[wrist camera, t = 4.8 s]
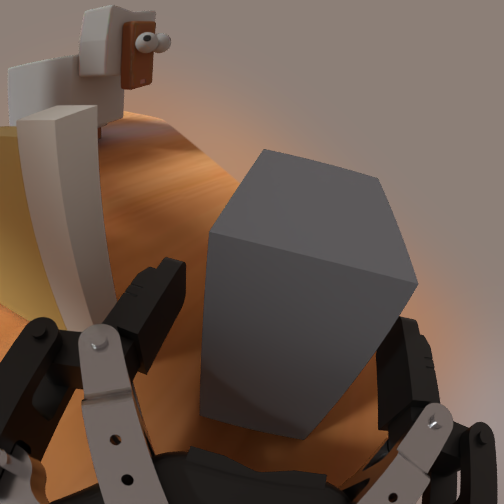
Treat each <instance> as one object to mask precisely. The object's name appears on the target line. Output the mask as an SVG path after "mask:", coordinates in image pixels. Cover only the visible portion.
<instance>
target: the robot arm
mask: <svg viewBox="0 0 504 504" xmlns="http://www.w3.org/2000/svg"><path fill="white" fill-rule="evenodd" d="M185 294H186V263H185V262H182V261H179V260H175V259H171V258H168V257H165V258H164V259H163V260H162V262H161V263H160V265H159V266H158V267H157V269H155V268H152V267H148V268H147V269H145V270H144V271H142V272H140V273H139V274H138V275H137V276H136V277H135V279H134V280H133V281H132V283H131V285H129V287H128V288H127V289H126V291H125V293H123V295H122V296H121V297H120V299H119V300H118V302H117V303H116V304H115V306H114V307H113V308H112V310H111V311H110V313H109V314H108V315H107V317H106V318H105V320H104V321H103V322H102V323H101V324H95V325H92V326H90V327H88V328H86V329H85V330H84V331H83V332H76V331H67V330H59V329H58V327H57V324H56V323H55V321H53V320H52V319H50V318H47V317H39V318H36V319H33V320H32V321H30V322H29V323H28V324H27V325H26V326H25V328H24V329H23V331H22V332H21V333H20V335H19V336H18V338H17V339H16V340H15V342H14V343H13V345H12V346H11V348H10V349H9V351H8V352H7V354H6V355H5V357H4V358H3V360H2V361H1V363H0V504H415V503H416V502H417V500H418V499H419V498H420V496H421V495H422V493H423V495H422V504H497V464H496V450H495V439H494V434H493V432H492V430H491V428H490V427H489V426H488V425H487V424H485V423H483V422H477V423H475V424H474V425H472V426H471V427H470V428H468V427H466V426H463V425H461V424H458V423H456V422H454V421H453V418H452V415H451V413H450V411H449V410H448V409H447V408H446V407H445V406H443V405H441V404H440V398H439V391H438V385H437V380H436V374H435V370H434V363H433V360H432V353H431V348H430V345H429V344H428V342H427V340H426V338H425V337H424V335H420V333H419V328H418V324H417V321H416V320H414V319H409V318H404V317H400V316H399V317H398V318H397V320H396V322H395V323H394V325H393V326H392V328H391V329H390V331H389V332H388V334H387V335H386V337H385V338H384V340H383V341H382V343H381V344H380V346H379V347H378V349H377V351H376V364H377V387H378V430H384V431H388V437H387V438H386V439H385V440H384V441H383V442H382V444H381V445H380V446H379V447H378V449H377V450H376V451H375V452H374V453H373V455H372V456H371V457H370V458H369V459H368V460H367V461H366V463H365V464H364V465H363V466H362V467H361V468H360V469H359V470H358V471H357V472H356V473H355V474H354V475H353V476H352V477H351V478H349V479H348V480H347V481H346V482H344V483H343V484H342V485H341V486H340V487H339V488H337V487H336V486H334V485H332V484H330V483H328V482H326V476H327V475H325V474H317V473H309V472H302V471H295V470H294V471H279V472H257V471H254V470H252V469H250V468H248V467H246V466H244V465H242V464H240V463H238V462H236V461H234V460H232V459H230V458H228V457H226V456H224V455H220V454H216V453H213V452H209V451H206V450H203V449H199V448H196V447H193V446H190V449H189V452H183V451H178V452H167V453H162V454H158V455H156V454H155V451H154V448H153V445H152V443H151V440H150V437H149V434H148V431H147V428H146V425H145V422H144V419H143V416H142V412H141V409H140V405H139V402H138V398H137V395H136V391H135V387H134V383H133V379H134V377H135V375H136V373H137V371H139V372H141V373H144V374H146V375H147V373H148V371H149V369H150V367H151V365H152V363H153V361H154V359H155V357H156V355H157V353H158V352H159V350H160V348H161V346H162V344H163V342H164V340H165V338H166V336H167V334H168V332H169V331H170V329H171V327H172V325H173V323H174V321H175V319H176V317H177V315H178V314H179V312H180V310H181V308H182V306H183V303H184V299H185ZM76 388H77V389H84V399H83V400H82V413H83V419H84V424H85V429H86V434H87V439H88V444H89V448H90V452H91V457H92V461H93V465H94V468H95V472H96V476H97V479H98V483H97V484H94V485H92V486H90V487H88V488H85V489H83V490H81V491H78V492H76V493H73V494H71V495H68V496H66V497H63V498H61V499H58V500H55V501H53V502H50V503H49V501H48V499H47V497H46V494H45V485H46V479H47V476H46V471H45V469H44V467H43V465H42V463H41V460H42V458H43V456H44V453H45V451H46V449H47V447H48V444H49V442H50V440H51V438H52V436H53V434H54V431H55V429H56V427H57V425H58V423H59V421H60V419H61V417H62V415H63V413H64V411H65V409H66V407H67V405H68V403H69V401H70V399H71V397H72V395H73V393H74V391H75V389H76ZM459 470H461V485H460V487H461V488H460V495H459V498H458V499H457V501H456V496H457V471H459Z"/></svg>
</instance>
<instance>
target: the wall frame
mask: <svg viewBox="0 0 504 504" xmlns="http://www.w3.org/2000/svg"><path fill="white" fill-rule="evenodd" d="M16 127H17V138H18V147H19V155H20V163H21V169H22V176H23V182H24V187H25V193H26V198H27V203H28V208H29V212H30V217H31V221H32V225H33V229H34V233H35V237H36V241H37V244H38V248H39V251H40V255H41V258H42V262H43V265H44V268H45V271H46V274H47V277H48V280H49V283H50V286H51V289H52V292H53V295H54V297H55V300H56V303H57V306H58V308H59V311H60V313H61V316H62V318H63V321H64V323H65V326H66V328H67V330H68V331H76V332H83V331H84V330H85V329H86V328H88V327H90V326H92V325H95V324H101V323H102V322H103V321H104V320H105V318H106V317H107V315H108V314H109V313H110V311H111V310H112V308H113V307H114V306H115V304H116V303H117V299H116V294H115V289H114V283H113V278H112V273H111V267H110V261H109V255H108V248H107V241H106V234H105V226H104V218H103V209H102V199H101V188H100V175H99V159H98V129H97V105H57V106H54V107H51V108H48V109H45V110H42V111H40V112H37V113H34V114H31V115H29V116H26V117H24V118H21V119H19V120H16Z"/></svg>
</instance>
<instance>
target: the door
mask: <svg viewBox="0 0 504 504" xmlns="http://www.w3.org/2000/svg"><path fill="white" fill-rule="evenodd" d="M0 304H2V305H3V306H5V307H7V308H8V309H10V310H11V311H13V312H15V313H16V314H18V315H20V316H21V317H23V318H25V319H27V320H28V321H32V320H33V319H36V318H39V317H47V318H50V319H52V320H53V321H55V323H56V324H57V327H58V329H59V330H67V328H66V326H65V323H64V321H63V318H62V316H61V313H60V311H59V308H58V306H57V303H56V300H55V297H54V295H53V292H52V289H51V286H50V283H49V280H48V277H47V274H46V271H45V268H44V265H43V262H42V258H41V255H40V251H39V248H38V244H37V241H36V237H35V233H34V229H33V225H32V221H31V217H30V212H29V208H28V203H27V198H26V193H25V187H24V182H23V176H22V169H21V163H20V155H19V147H18V138H17V127H16V126H5V127H0ZM67 331H68V330H67Z"/></svg>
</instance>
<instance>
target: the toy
mask: <svg viewBox="0 0 504 504" xmlns="http://www.w3.org/2000/svg"><path fill="white" fill-rule="evenodd" d="M155 16H156V12H155V11H141V12H131V11H129V10H126V9H123V8H121V7H118V6H115V5H110V6H105V7H101V8H96V9H91V10H88V11H85V12H84V16H83V21H82V27H81V34H80V40H79V55H72V56H65V57H59V58H53V59H48V60H43V61H37V62H32V63H28V64H24V65H19V66H15V67H11V68H9V69H8V105H9V120H10V121H9V122H10V126H16V120H19V119H21V118H24V117H26V116H29V115H31V114H34V113H37V112H40V111H42V110H45V109H48V108H51V107H54V106H57V105H97V129H98V139H100V138H101V127H102V126H105V125H107V123H109V122H112V121H115V120H118V119H121V118H123V108H124V89H129V90H132V89H135V88H138V87H142V86H145V85H149V84H151V83H152V72H153V54H154V52H156V53H162V52H165V51H166V50H168V49H169V47H170V45H171V39H170V37H169V36H168V35H167V34H164V33H158V34H156V35H155V28H156V23H155Z"/></svg>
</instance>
